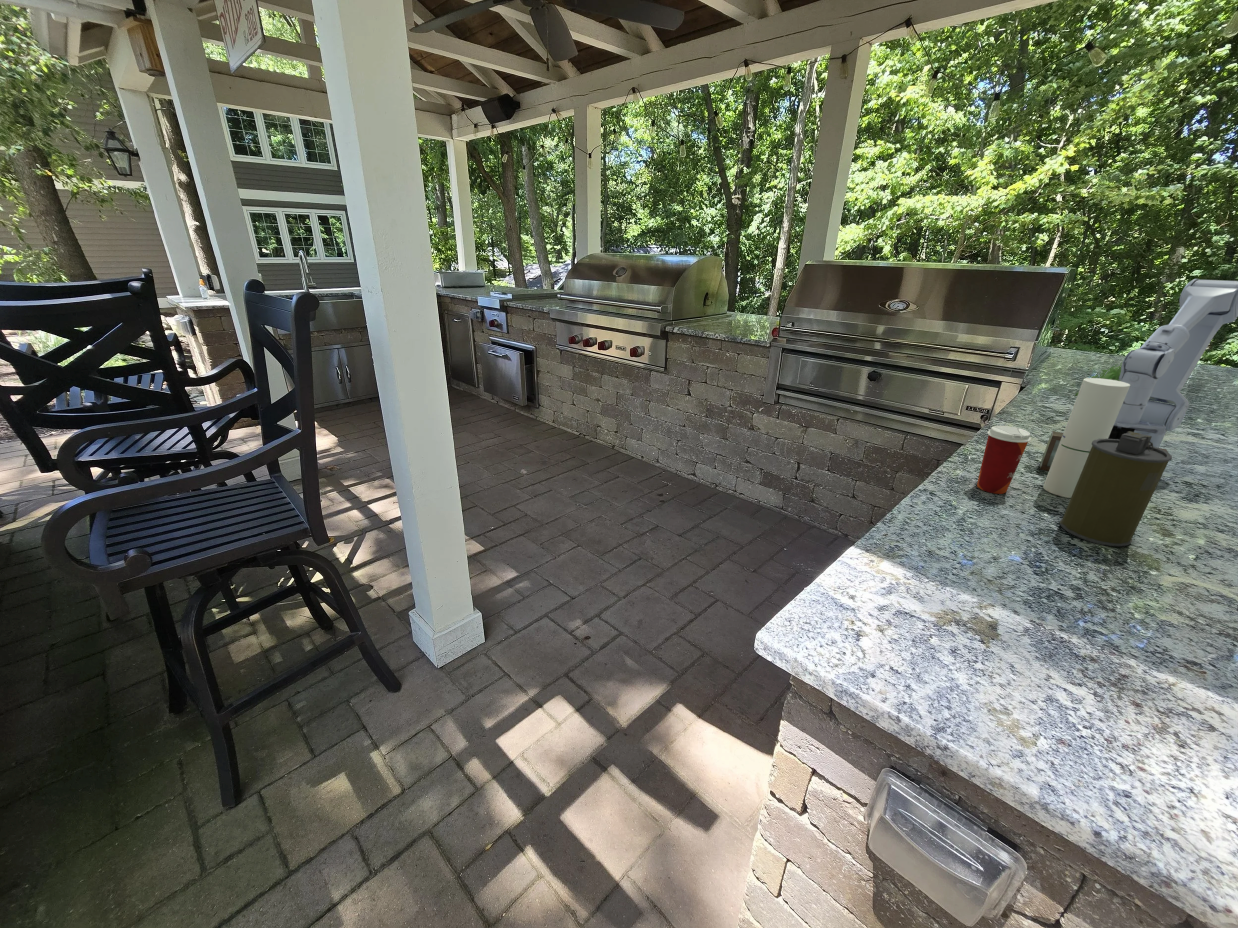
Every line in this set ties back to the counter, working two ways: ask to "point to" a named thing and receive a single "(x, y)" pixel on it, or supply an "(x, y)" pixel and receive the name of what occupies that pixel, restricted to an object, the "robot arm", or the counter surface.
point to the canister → (1114, 489)
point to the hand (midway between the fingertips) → (1106, 456)
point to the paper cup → (1001, 458)
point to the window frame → (1054, 450)
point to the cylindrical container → (1084, 431)
